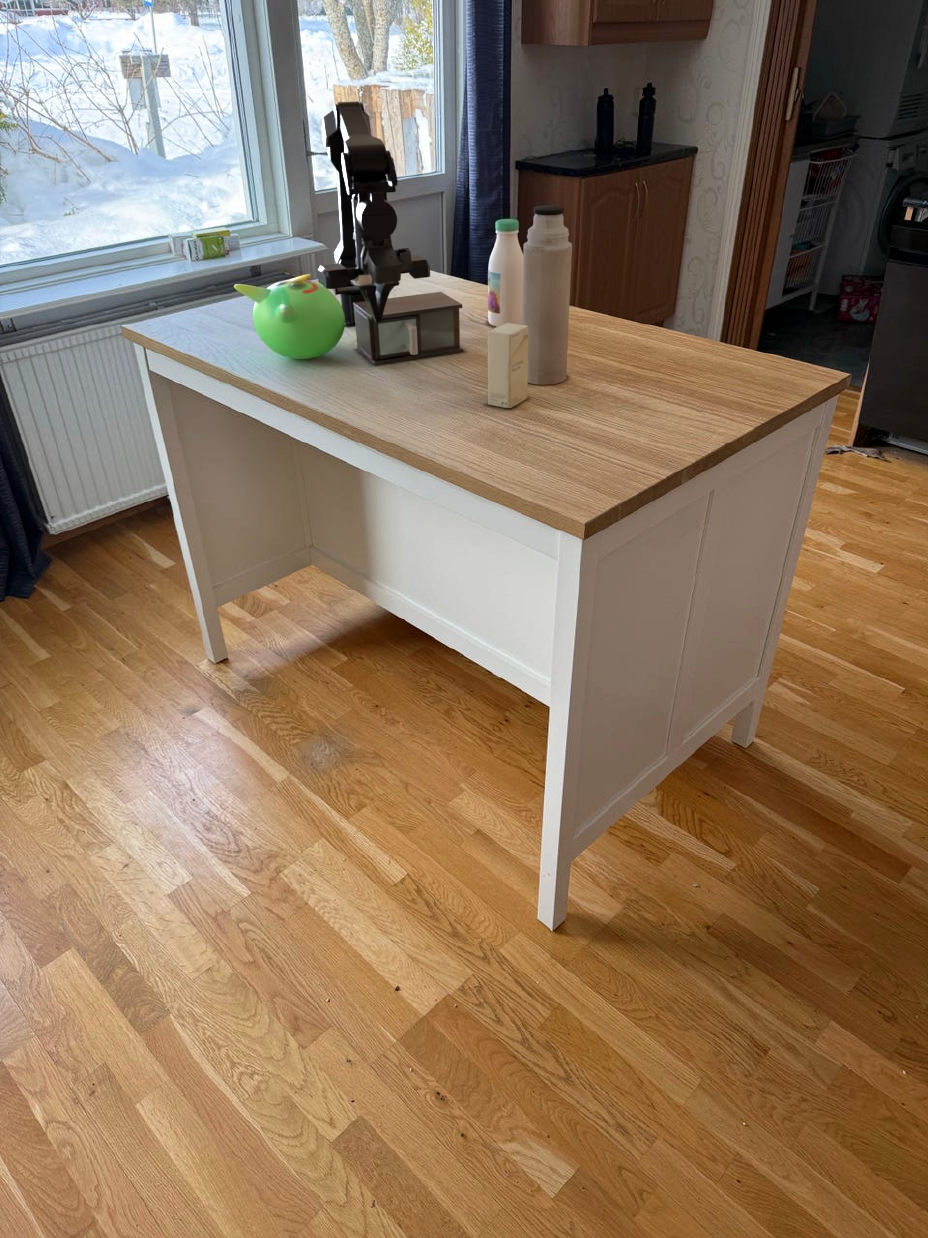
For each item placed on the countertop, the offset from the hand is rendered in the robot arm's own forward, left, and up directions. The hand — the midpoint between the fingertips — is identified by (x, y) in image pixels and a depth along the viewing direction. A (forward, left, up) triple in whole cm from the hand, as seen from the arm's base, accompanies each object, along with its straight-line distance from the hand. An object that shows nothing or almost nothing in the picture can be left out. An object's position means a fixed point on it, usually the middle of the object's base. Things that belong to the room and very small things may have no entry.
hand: (377, 322), depth 159 cm
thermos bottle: (+16, +25, -9) cm, 31 cm away
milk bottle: (-18, +34, -9) cm, 39 cm away
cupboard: (-10, +9, -9) cm, 16 cm away
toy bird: (-15, -11, -9) cm, 21 cm away
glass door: (-2, +5, -8) cm, 10 cm away
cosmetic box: (+24, +14, -9) cm, 29 cm away
